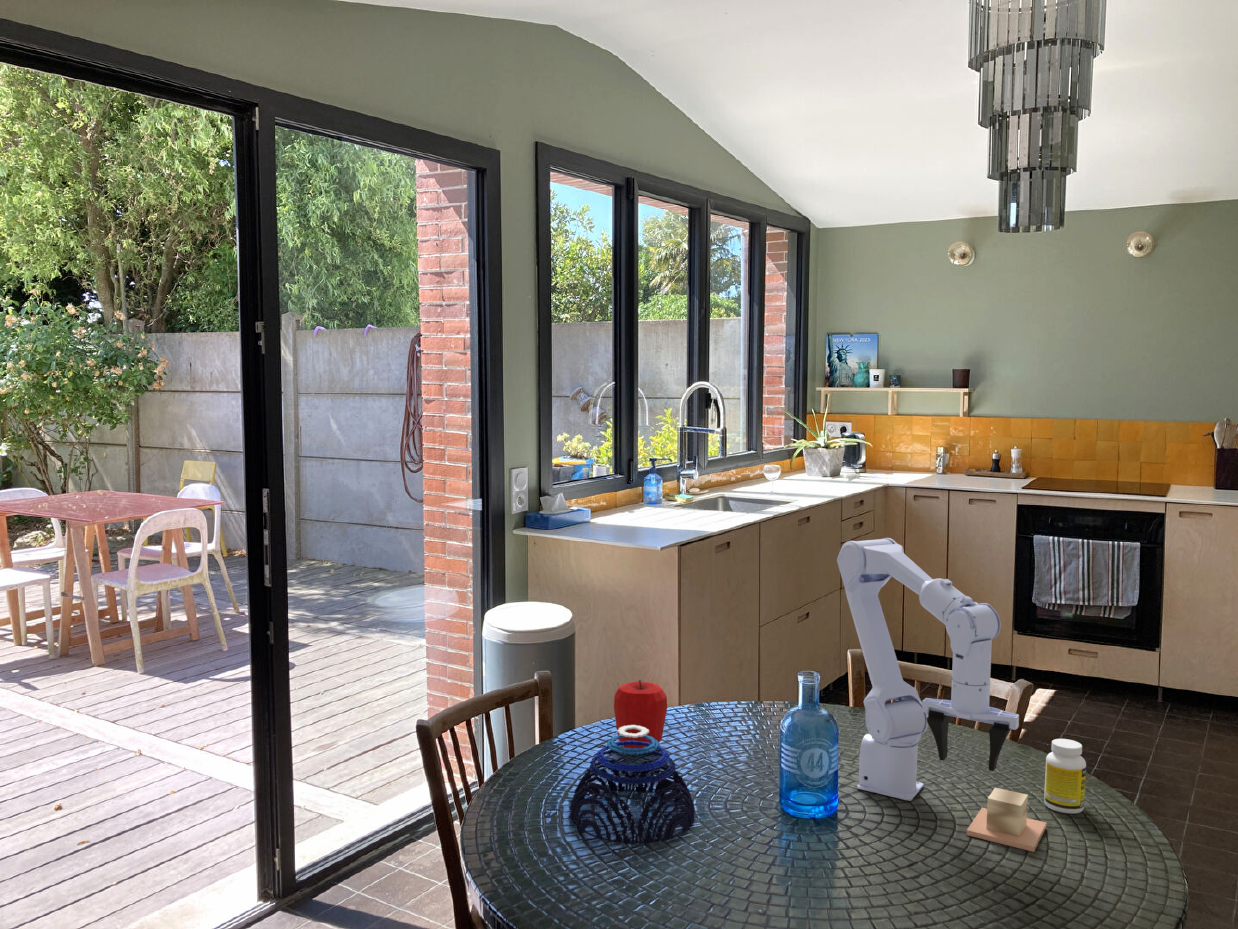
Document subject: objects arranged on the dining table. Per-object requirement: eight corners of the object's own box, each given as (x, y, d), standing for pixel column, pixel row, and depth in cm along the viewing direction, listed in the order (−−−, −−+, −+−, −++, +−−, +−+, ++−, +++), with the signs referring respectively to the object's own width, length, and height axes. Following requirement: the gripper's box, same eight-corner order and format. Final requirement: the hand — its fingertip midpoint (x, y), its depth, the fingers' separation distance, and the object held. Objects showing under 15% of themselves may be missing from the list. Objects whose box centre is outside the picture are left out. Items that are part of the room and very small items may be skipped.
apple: (667, 759, 186) (668, 688, 185) (613, 758, 187) (613, 687, 185) (665, 738, 197) (666, 672, 196) (614, 738, 197) (614, 671, 196)
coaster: (966, 835, 156) (966, 830, 156) (981, 812, 165) (982, 807, 165) (1033, 852, 151) (1034, 847, 151) (1046, 827, 159) (1046, 822, 159)
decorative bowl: (718, 815, 163) (720, 730, 162) (638, 857, 148) (639, 764, 147) (628, 781, 177) (629, 702, 175) (546, 816, 162) (547, 730, 161)
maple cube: (986, 828, 157) (987, 798, 156) (993, 817, 161) (995, 787, 160) (1019, 837, 154) (1021, 806, 154) (1026, 825, 158) (1027, 795, 158)
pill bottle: (1088, 816, 163) (1091, 751, 162) (1048, 813, 165) (1051, 748, 164) (1078, 801, 169) (1082, 738, 168) (1040, 797, 171) (1043, 735, 170)
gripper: (917, 678, 158) (914, 761, 159) (1013, 695, 150) (1009, 782, 151) (930, 668, 164) (927, 748, 165) (1023, 683, 156) (1019, 767, 157)
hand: (967, 763), depth 158 cm, fingers open, 7 cm apart
